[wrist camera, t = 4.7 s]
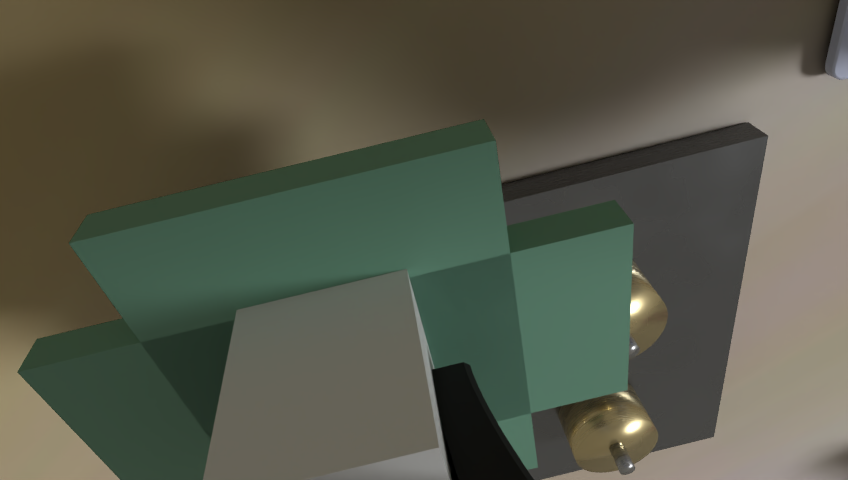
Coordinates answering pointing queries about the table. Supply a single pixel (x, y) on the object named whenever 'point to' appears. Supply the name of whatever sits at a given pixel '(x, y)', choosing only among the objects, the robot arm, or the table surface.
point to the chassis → (657, 292)
